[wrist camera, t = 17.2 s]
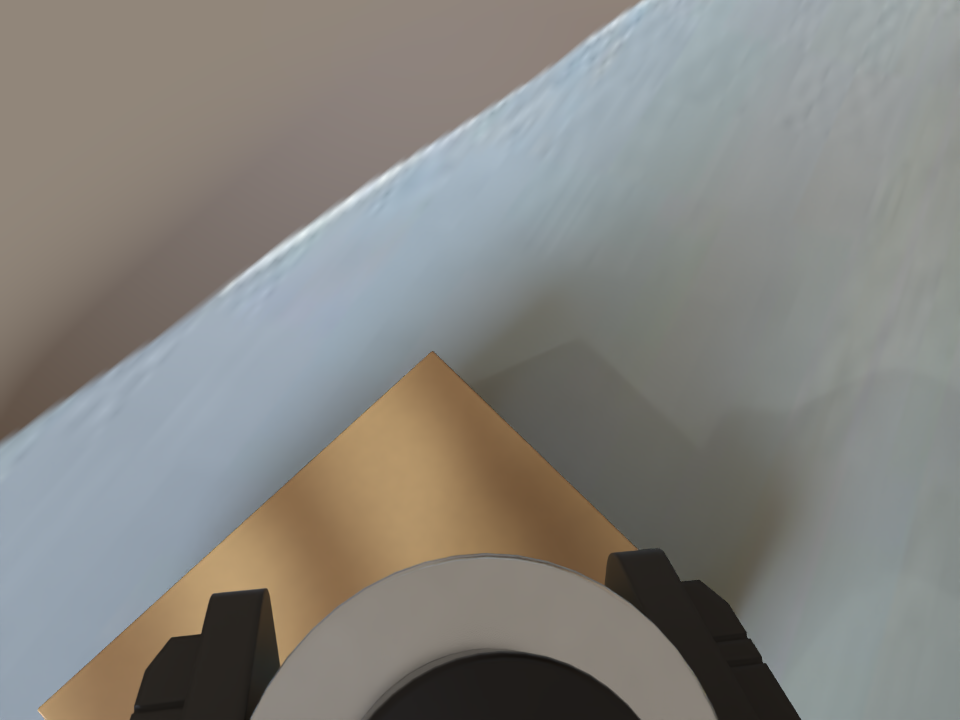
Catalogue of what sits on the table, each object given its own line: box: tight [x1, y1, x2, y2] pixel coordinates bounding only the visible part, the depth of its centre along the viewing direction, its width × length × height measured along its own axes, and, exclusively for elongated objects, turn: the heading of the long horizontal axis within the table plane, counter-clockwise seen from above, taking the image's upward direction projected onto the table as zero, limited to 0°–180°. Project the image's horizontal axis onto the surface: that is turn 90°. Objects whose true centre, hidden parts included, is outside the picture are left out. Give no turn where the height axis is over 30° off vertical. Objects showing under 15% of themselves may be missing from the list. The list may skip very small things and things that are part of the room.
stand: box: [38, 351, 638, 720], centre depth 19 cm, size 12×12×5 cm
